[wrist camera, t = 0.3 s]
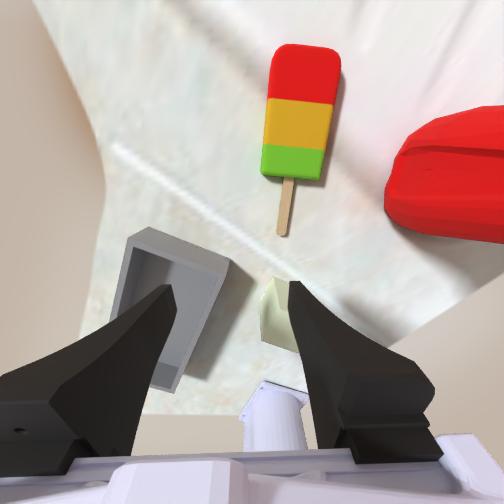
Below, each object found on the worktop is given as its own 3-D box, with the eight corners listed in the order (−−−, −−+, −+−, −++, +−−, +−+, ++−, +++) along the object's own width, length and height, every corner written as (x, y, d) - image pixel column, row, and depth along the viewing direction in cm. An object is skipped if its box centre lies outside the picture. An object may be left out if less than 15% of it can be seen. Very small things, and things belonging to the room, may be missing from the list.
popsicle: (337, 59, 17) (348, 46, 15) (304, 234, 22) (309, 240, 20) (271, 52, 16) (273, 37, 15) (254, 230, 22) (254, 235, 20)
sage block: (287, 313, 25) (298, 353, 20) (259, 302, 25) (261, 340, 19) (303, 288, 24) (319, 323, 19) (273, 276, 23) (280, 309, 18)
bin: (183, 366, 29) (173, 393, 25) (117, 347, 27) (97, 373, 24) (230, 258, 23) (226, 275, 19) (148, 226, 21) (127, 237, 18)
